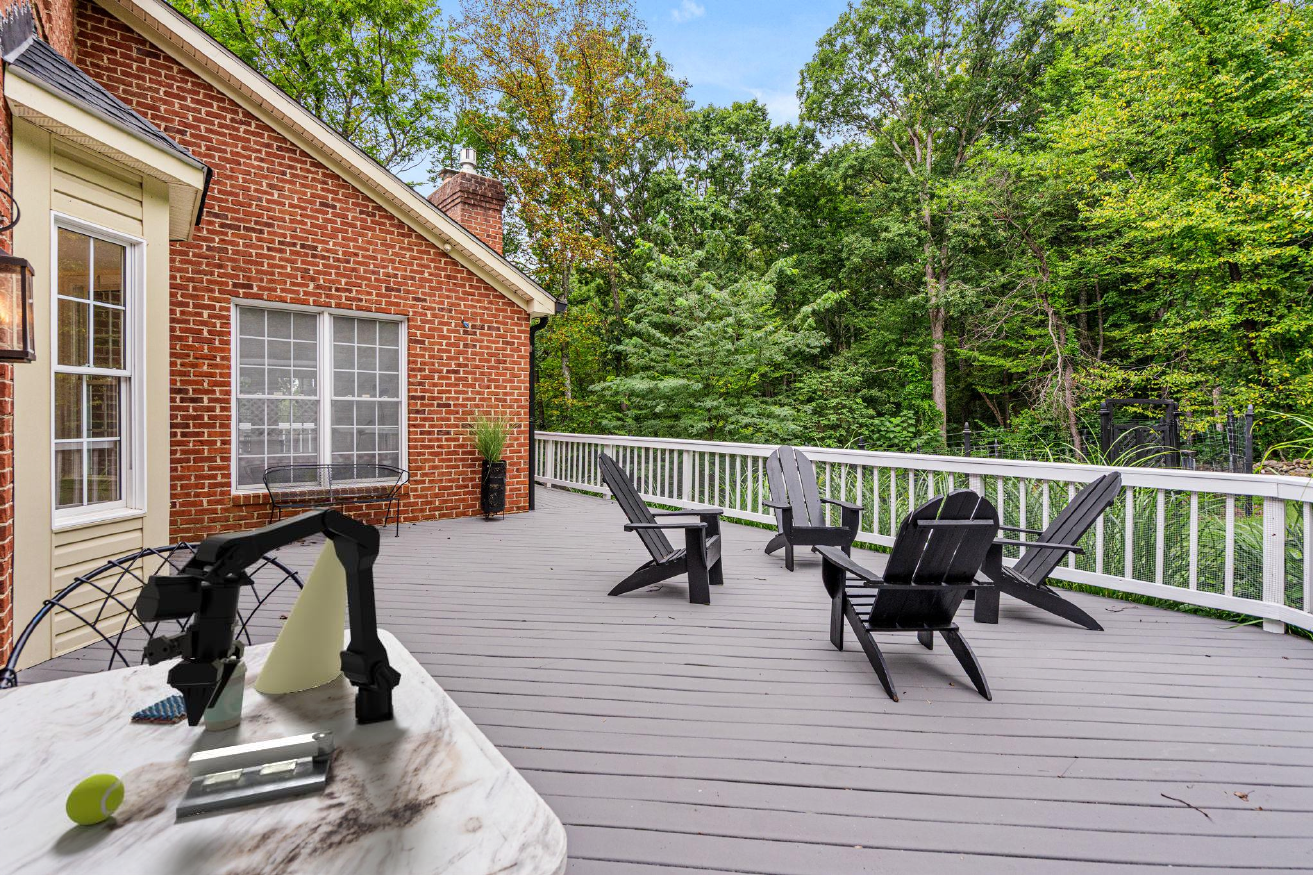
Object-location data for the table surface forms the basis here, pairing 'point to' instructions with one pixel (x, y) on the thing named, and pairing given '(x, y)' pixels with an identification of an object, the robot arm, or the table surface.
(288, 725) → the table surface
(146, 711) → the woven mat
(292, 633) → the cone light
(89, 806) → the tennis ball
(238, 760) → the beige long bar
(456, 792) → the table surface
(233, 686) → the coffee cup
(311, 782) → the panel
